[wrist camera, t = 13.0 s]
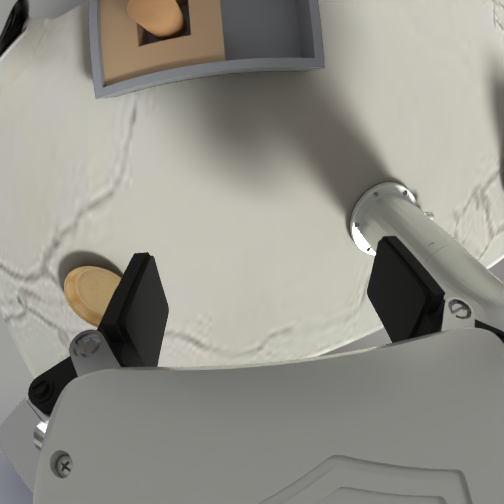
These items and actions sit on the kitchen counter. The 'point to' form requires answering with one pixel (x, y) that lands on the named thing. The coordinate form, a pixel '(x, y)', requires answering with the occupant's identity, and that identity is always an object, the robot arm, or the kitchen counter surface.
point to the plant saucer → (90, 291)
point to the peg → (158, 17)
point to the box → (202, 42)
